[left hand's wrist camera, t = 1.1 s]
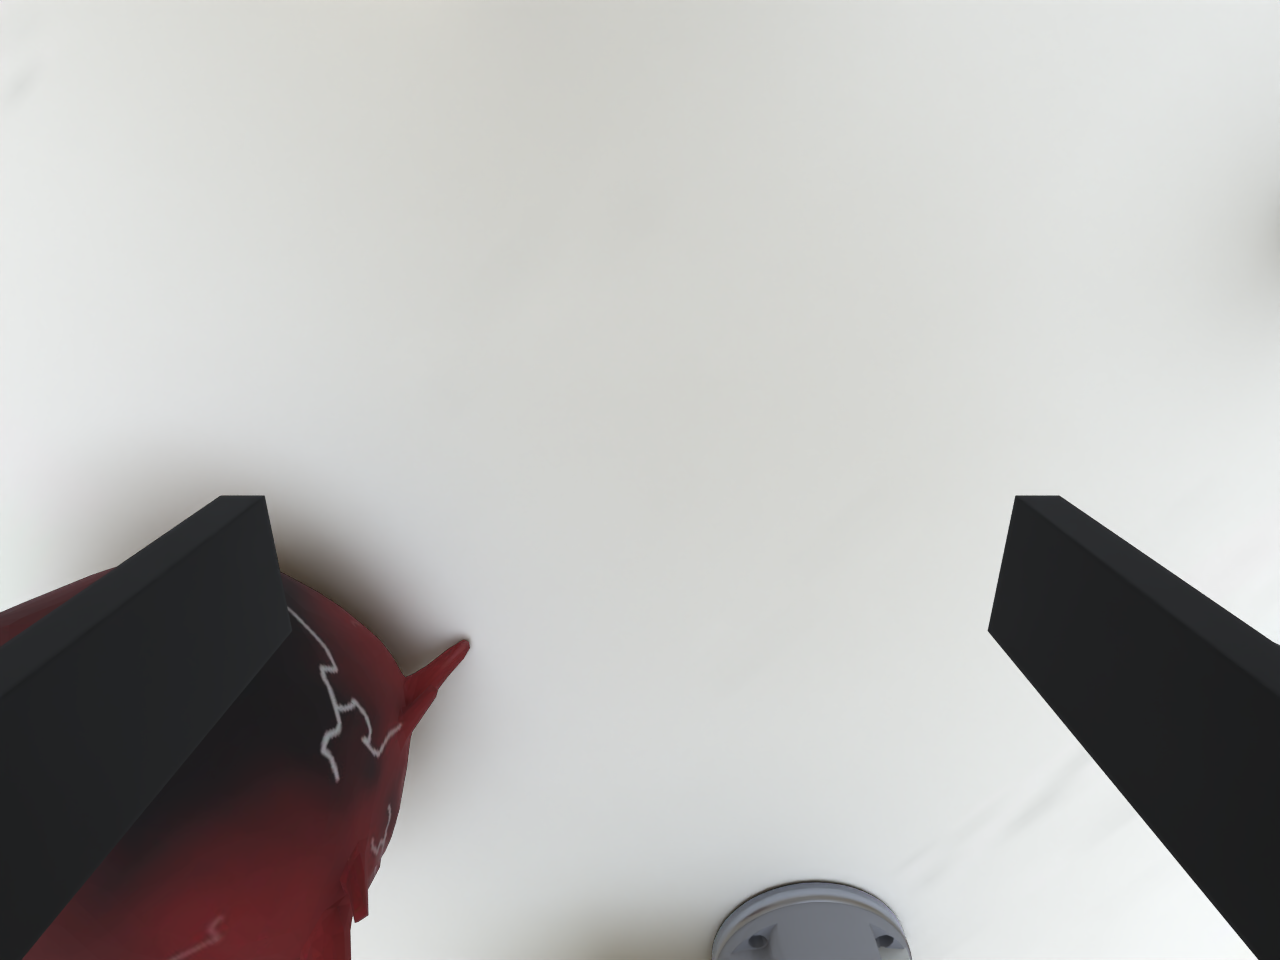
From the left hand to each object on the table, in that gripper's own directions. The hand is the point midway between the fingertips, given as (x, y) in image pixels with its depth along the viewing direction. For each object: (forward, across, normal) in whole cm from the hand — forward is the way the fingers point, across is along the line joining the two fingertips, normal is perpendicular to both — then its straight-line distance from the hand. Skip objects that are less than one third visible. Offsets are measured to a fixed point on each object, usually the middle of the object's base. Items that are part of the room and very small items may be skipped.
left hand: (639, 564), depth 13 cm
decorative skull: (+28, +25, +23) cm, 44 cm away
